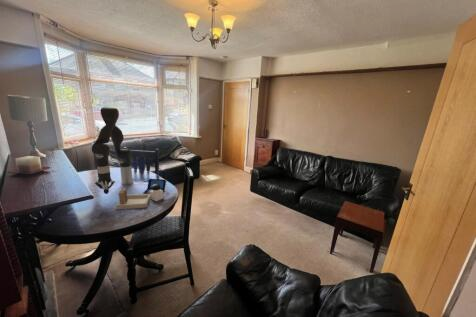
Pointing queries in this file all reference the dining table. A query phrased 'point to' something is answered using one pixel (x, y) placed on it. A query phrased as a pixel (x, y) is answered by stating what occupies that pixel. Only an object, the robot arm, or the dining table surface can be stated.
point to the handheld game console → (153, 182)
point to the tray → (135, 201)
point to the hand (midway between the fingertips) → (106, 193)
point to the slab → (123, 196)
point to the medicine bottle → (156, 193)
